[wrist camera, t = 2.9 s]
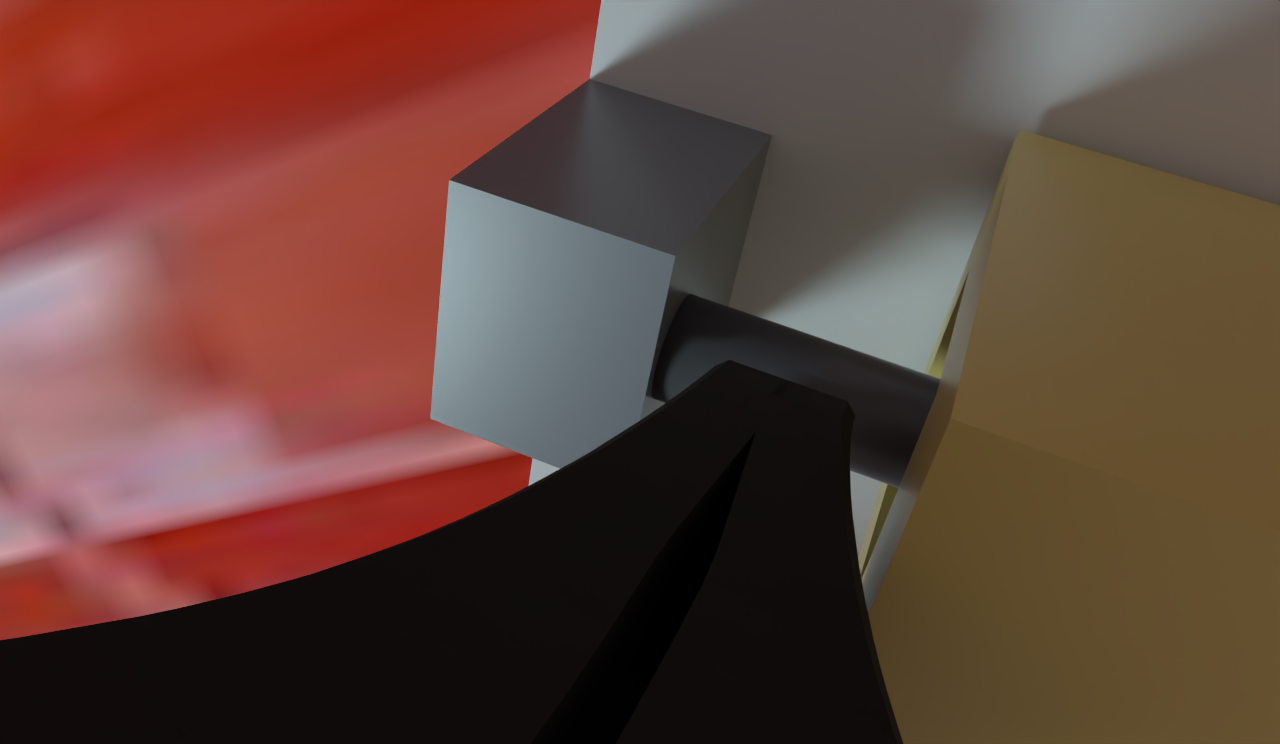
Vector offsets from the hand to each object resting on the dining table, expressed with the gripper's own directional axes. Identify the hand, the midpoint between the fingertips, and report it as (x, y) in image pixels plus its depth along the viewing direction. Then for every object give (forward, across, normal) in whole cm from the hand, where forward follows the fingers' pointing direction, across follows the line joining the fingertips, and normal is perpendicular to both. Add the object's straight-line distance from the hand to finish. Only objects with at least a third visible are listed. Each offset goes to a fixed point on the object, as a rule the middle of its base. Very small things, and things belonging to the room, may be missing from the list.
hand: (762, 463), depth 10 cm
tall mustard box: (+4, -3, 0) cm, 5 cm away
